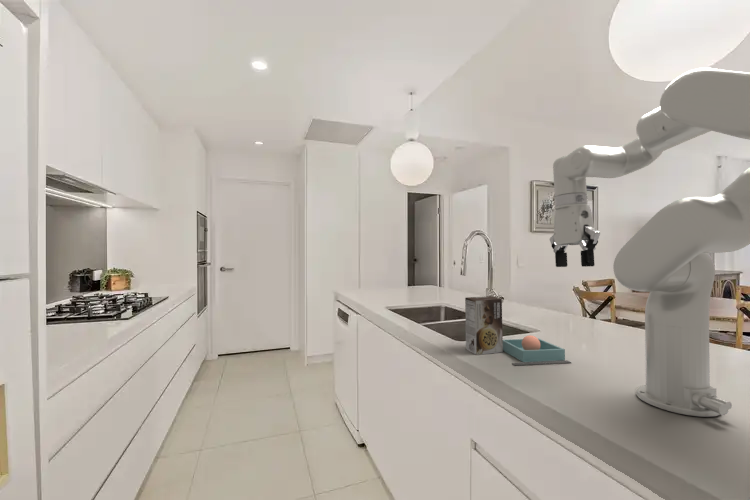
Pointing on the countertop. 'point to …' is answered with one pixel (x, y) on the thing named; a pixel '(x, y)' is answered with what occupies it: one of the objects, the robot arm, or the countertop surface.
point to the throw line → (541, 363)
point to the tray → (533, 351)
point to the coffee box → (484, 325)
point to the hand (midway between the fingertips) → (574, 266)
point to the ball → (531, 343)
